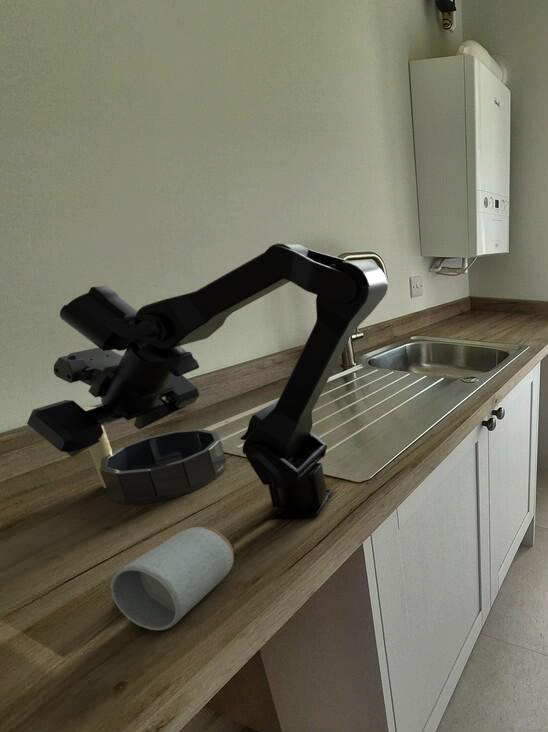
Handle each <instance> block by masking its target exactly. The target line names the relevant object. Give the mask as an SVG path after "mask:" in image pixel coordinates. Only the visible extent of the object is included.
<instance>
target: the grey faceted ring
mask: <svg viewBox="0 0 548 732" xmlns="http://www.w3.org/2000/svg"><path fill="white" fill-rule="evenodd" d="M97 407H98V406H87V407H86V406H85V407H82V408H83V409H84V410H85V411H88V410H91V409H94V408H97ZM102 429H103V432H104V433H103V435H102V436H101V438H99V439H98V440H99V442H98V443H96V444H95V445H93V446H91V447H89V448H88V449H87V450H88V451H89V453H90V454H89V455H90V456H91V459H92V462H93V465H94V467H95V470H96V472H97V473H96V474H97V475H98V478H99V480H100V484H101V486H102V488H104V489H106V491H107V493H108V496H110V497H111V499H112V500H113V501H114V502H115V503H118V504H121V505H129V506H138V505H139V506H140V505H149V504H154V503H159V502H164V501H169V500H171V499H175V498H178V497H183V496H185V495H187V494H189V493H192V492H194V491H197V490H199V489H201V488H204V487H205V486H207V485H209V484H211V483H212V482H213V481H215V480H217V478H219V477H220V476H221V475H222V474H223V473H224V472H225V470H226V469H227V460H226V455H225V451H224V449H223V444H222V441H221V438H220V436H219V435H220V434H219V433H218V432H217V431H214V430H208V429H203V428H197V429H183V430H175V431H170V432H165V433H161V434H155V435H152V436H147V437H145V438H142V439H140V440H136V441H133V442H131V443H129V444H126V445H123V446H120V447H118V448H117V449H115V450H114V451H113V449H112V446H111V442H110V440H109V437H108V435H107V432H106V429H105V425H102Z"/></svg>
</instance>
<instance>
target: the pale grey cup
mask: <svg viewBox="0 0 548 732" xmlns="http://www.w3.org/2000/svg"><path fill="white" fill-rule="evenodd" d="M233 549H234V548H233V546H232V544H231V543H230V541H229V540H228V538H227V537H226V536H224V534H222V533H221V532H219V531H218V530H216V529H215V528H211V527H209V526H204V525H198V526H193V527H190V528H187V529H184V530H183V531H179V532H178V533H176V534H175V535H173V536H171V537H170V538H168V539H167V540H166V541H164V542H162V543H161V544H159V545H158V546H157V545H156V547H154V548H152V549H151V550H149V551H148V552H146V553H144V554H142V555H141V556H139V557H138V558H136V559H134V560H133V561H131V562H129V563H128V564H126V565H125V566H123V567H121V568H120V569H118V571H117V572H116V573H115V574H114V575H113V576H112V578H111V581H110V593H111V598H112V599H113V602H114V603H115V605H116V606H117V608H118V610H119V611H120V612H121V613H122V614H123V615H124V616H125V617H126V618H127V619H128V620H129V621H130V622H132V623H134V624H135V625H137V626H139V627H141V628H144V629H147V630H150V631H160V632H161V631H165V630H168V629H170V628H172V627H173V626H175V625H176V624H177V623H178V622H179V621H180V620H182V618H183V617H184V616H186V614H188V613H189V612H190V611H191V610H192V608H194V607H195V606H196V605H197V604H199V602H201V600H202V599H203V598H204V597H206V596H207V595H208V594H209V593H210V592H211V591H212V590H213V589H215V588H216V586H218V585H219V584H220V583H221V582H222V581H223V580H224V579H225V578H226V576H227V575H228V574H229V572H230V571H231V569H232V567H233V566H234V562H235V552H234V550H233Z"/></svg>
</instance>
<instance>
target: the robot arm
mask: <svg viewBox="0 0 548 732" xmlns="http://www.w3.org/2000/svg"><path fill="white" fill-rule="evenodd" d="M290 282H291V283H292V284H294V285H296V286H297V287H299V288H301V289H302V290H304V291H305V292H308V293H310V294H312V295H313V294H314V295H316V297H315V310H316V320H315V323H314V325H313V328H312V330H311V332H310V333H309V336H308V338H307V340H306V342H305V344H304V345H303V348H302V350H301V353H300V355H299V356H298V359H297V361H296V362H295V365H294V367H293V369H292V371H291V374H290V375H289V377H288V380H287V382H286V383H285V385H284V388H283V390H282V391H281V393H280V396H279V398H278V400H275V401H274V402H273V403H270V405H267V406H266V407H264V408H262V409H261V410H259V411H258V412H256V413H254V414H253V415H252V416H251V417H250V419H249V421H248V426H247V429H246V432H245V433H244V434H243V435H242V436H241V437H240V438H239V439H240V440H242V441H244V442H243V444H242V453H243V455H245V457H246V459H247V461H248V462H249V465H250V466H251V467H252V469H253V470H254V472H255V474H256V476H257V477H258V479H259V480H260V481H261V483H262V484H263V485H264V486H268V491H269V496H270V501H271V504H272V507H275V508H281V509H282V511H280V512H279V513H277V514H276V515H274V516H273V517H272V518H271V519H272V520H281V519H282V520H284V519H305V518H306V519H307V518H316V517H318V516H319V515H320V513H321V511H322V510H323V508H324V506H326V503H327V502H328V500H329V498H330V496H332V489H327V487H326V486H327V485H326V480H325V474H324V468H323V463H322V462H319V461H320V460H322V459H323V458H324V457H325V456H326V453H327V449H328V445H327V443H325V442H324V441H323V440H322V439H320V438H319V437H318V436H317V435H315V434H314V433H313V432H312V428H313V410H314V408H315V406H316V404H317V402H318V400H319V398H320V396H321V395H322V392H323V391H324V388H325V387H326V385H327V383H328V381H329V379H330V377H331V375H332V374H333V371H334V369H335V367H336V366H337V363H338V361H339V360H340V358H341V356H342V354H343V352H344V350H345V348H346V346H347V344H348V342H349V340H350V339H351V336H352V335H353V333H354V331H356V329H357V328H358V327H359V326H360V325H361V324H362V323H363V322H364V321H365V320H367V318H368V317H369V316H370V315H371V314H372V313H373V311H375V309H376V308H377V307H378V306H379V304H380V303H381V302H382V300H383V299H384V298H385V296H386V295H387V293H388V292H387V291H388V285H389V283H388V281H387V279H386V275H385V273H384V272H383V270H382V268H380V267H379V266H378V265H377V264H376V263H374V262H373V261H369V260H362V259H361V260H360V259H359V260H347V259H344V258H341V257H337V256H333V255H331V254H326V253H323V252H319V251H316V250H313V249H310V248H308V247H305V246H303V245H301V244H300V243H299V244H298V243H275V244H272V245H270V246H269V247H268V248H267V249H266V250H265V251H264V252H262V253H261V254H259V255H257V256H255V257H253V258H251V259H250V260H248V261H246V262H244V263H243V264H241V265H239V266H237V267H236V268H234V269H232V270H231V271H229V272H227V273H224V274H223V275H221V276H220V277H218V278H216V279H215V280H213V281H211V282H209V283H208V284H205V285H204V286H202V287H201V288H199V289H197V290H194V291H192V292H188V293H185V294H184V293H183V294H179V295H177V296H172V297H169V298H164V299H161V300H157V301H154V302H152V303H149V304H145V305H143V306H141V307H140V308H139V309H138V310H137V309H136V308H134V307H133V306H132V305H130V303H128V302H127V301H125V299H123V298H122V297H120V296H119V294H118V293H117V292H116V291H115V290H114V289H112V288H111V287H110V286H108V285H99V286H91V287H90V289H88V291H87V292H86V293H84V294H81V295H79V296H77V297H75V298H73V299H72V300H71V301H70V302H68V303H67V304H65V305H63V306H62V307H61V309H60V312H59V317H60V319H61V320H62V321H64V322H65V323H66V324H68V325H69V326H70V327H71V328H73V330H75V331H76V332H78V333H79V334H81V335H82V336H83V337H85V338H86V340H88V341H90V342H91V343H92V344H93V345H95V346H96V347H93V348H90V349H84V350H79V351H74V352H70V353H69V354H68V355H64V356H59V357H58V358H57V360H56V361H55V362H54V364H53V374H54V375H55V377H56V378H59V379H60V380H62V381H65V382H66V383H69V384H73V383H76V382H77V383H78V382H82V383H84V384H85V385H88V386H90V387H89V389H88V391H87V392H88V393H89V394H90V395H91V396H92V397H94V398H101V399H100V402H101V404H102V405H101V406H96V407H97V408H94V409H91V410H88V411H85V410H84V409H83V408H84V407H82V406H80V405H79V404H78V403H77V402H76V401H75V400H72V399H71V400H70V399H64V400H61V401H58V402H54V403H51V404H47V405H44V406H40V407H37V408H34V409H32V410H31V413H30V415H29V417H28V419H27V422H26V424H27V425H28V426H29V427H30V428H31V429H33V431H35V432H36V433H38V434H39V436H41V437H42V438H44V439H45V440H46V441H47V442H49V443H50V444H51V445H52V446H53V447H54V448H56V450H58V451H59V452H61V453H62V452H63V453H66V454H67V455H69V456H70V457H71V458H73V457H75V456H78V455H80V454H81V453H83V452H84V451H86V450H89V449H88V448H89V447H91V446H93V445H95V444H96V443H98V442H99V440H98V439H99V438H101V436H102V435H103V433H104V432H103V429H102V425H103V426H105V425H109V424H110V423H113V422H115V421H118V420H121V419H125V420H126V421H130V420H133V419H135V420H134V422H133V426H134V427H135V428H136V429H138V430H141V429H143V428H146V427H148V426H150V425H152V424H154V423H156V422H158V421H160V420H162V419H164V418H166V417H169V416H171V415H172V414H174V413H177V412H179V411H180V410H183V409H185V408H187V406H190V405H192V404H194V403H196V402H197V400H198V399H199V397H200V391H199V389H198V387H197V386H196V385H195V384H194V383H192V382H191V381H190V380H189V379H188V378H187V377H185V375H186V374H187V373H191V372H193V371H196V370H198V369H199V368H200V364H199V362H198V360H197V359H196V358H195V357H194V356H193V353H192V351H186V350H185V349H184V348H183V347H182V346H185V345H189V344H192V343H195V342H199V341H203V340H206V339H208V338H210V337H211V336H212V335H213V334H214V333H216V332H217V331H218V330H219V329H220V328H221V327H222V326H223V325H224V324H225V323H226V320H227V318H228V317H230V316H231V315H232V314H233V313H235V312H237V311H238V310H241V309H242V308H244V307H245V306H248V305H250V304H252V303H254V302H256V301H257V300H259V299H261V298H262V297H264V296H266V295H269V294H270V293H272V292H273V291H275V290H277V289H279V288H281V287H283V286H285V285H286V284H288V283H290ZM115 350H116V351H119V352H120V351H122V352H123V351H125V352H124V353H123V355H121V354H119V353H117V352H115Z"/></svg>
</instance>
